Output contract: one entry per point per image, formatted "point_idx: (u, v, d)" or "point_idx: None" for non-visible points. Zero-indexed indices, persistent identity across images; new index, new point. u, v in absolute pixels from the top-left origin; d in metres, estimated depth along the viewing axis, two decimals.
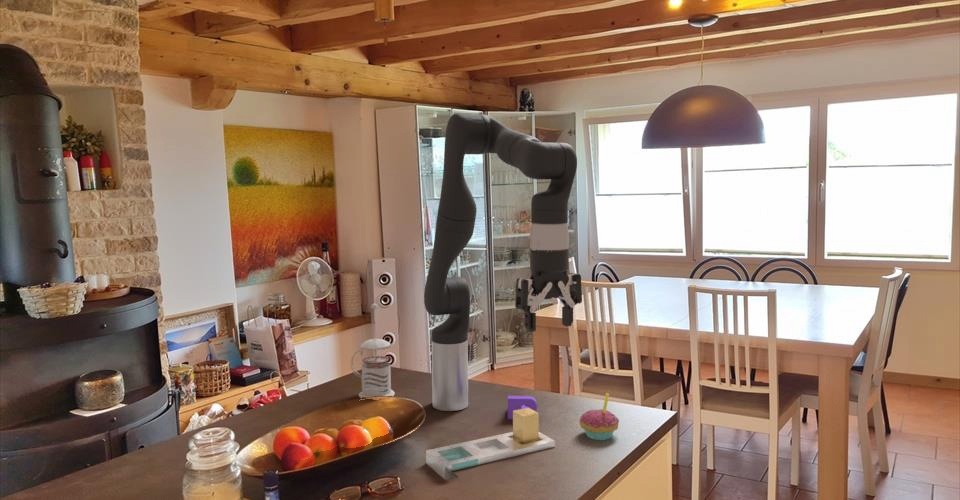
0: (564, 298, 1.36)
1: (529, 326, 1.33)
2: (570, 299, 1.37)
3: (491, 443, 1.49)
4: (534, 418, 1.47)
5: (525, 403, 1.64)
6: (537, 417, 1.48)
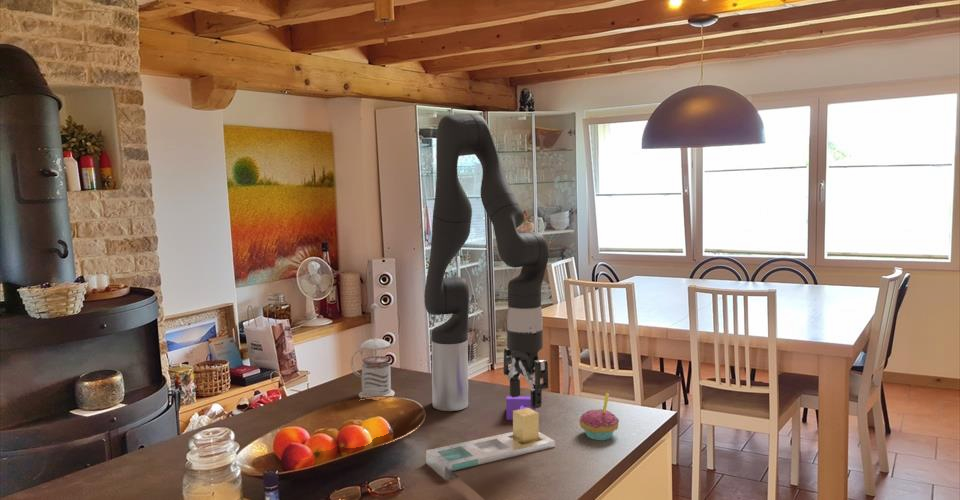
0: None
1: None
2: None
3: (491, 443, 1.49)
4: (534, 418, 1.47)
5: (524, 403, 1.63)
6: (537, 417, 1.48)
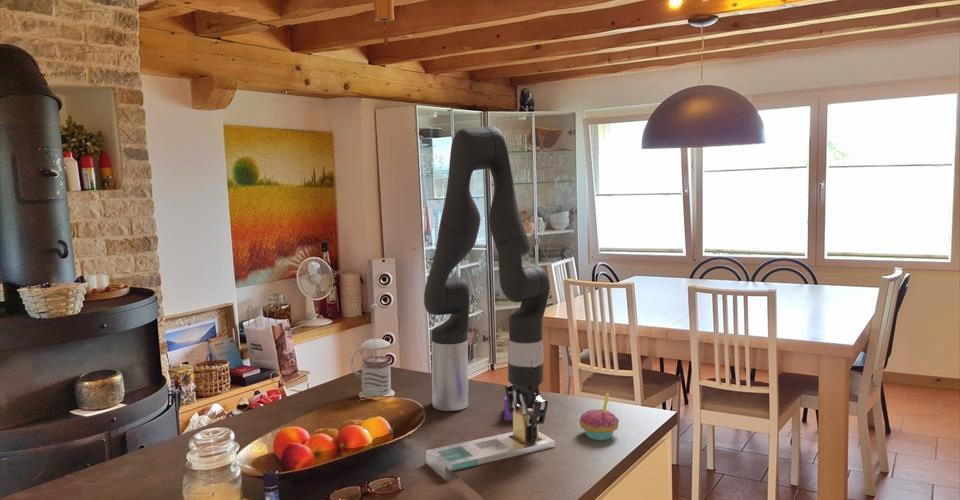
0: None
1: None
2: None
3: (491, 443, 1.49)
4: None
5: None
6: None
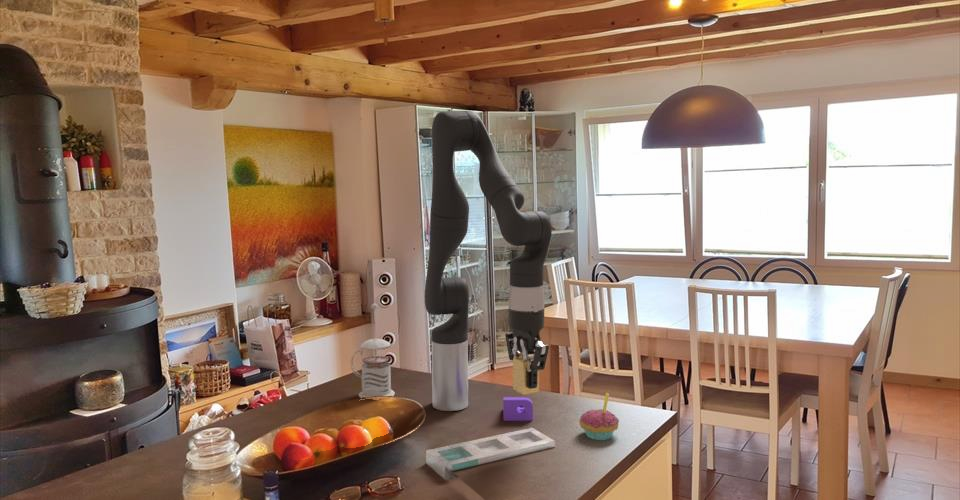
0: None
1: None
2: None
3: (491, 443, 1.49)
4: None
5: (521, 404, 1.63)
6: None
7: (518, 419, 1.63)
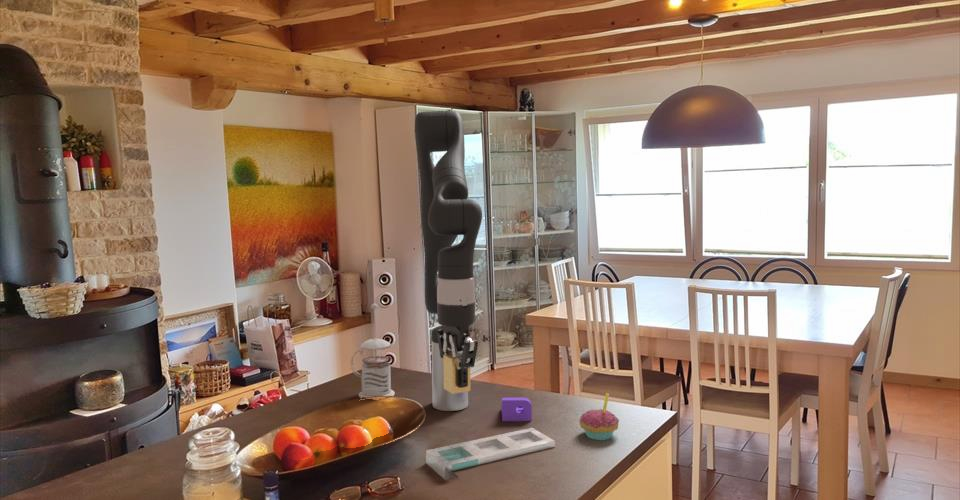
0: None
1: None
2: None
3: (491, 443, 1.49)
4: None
5: (520, 404, 1.63)
6: None
7: (517, 420, 1.63)
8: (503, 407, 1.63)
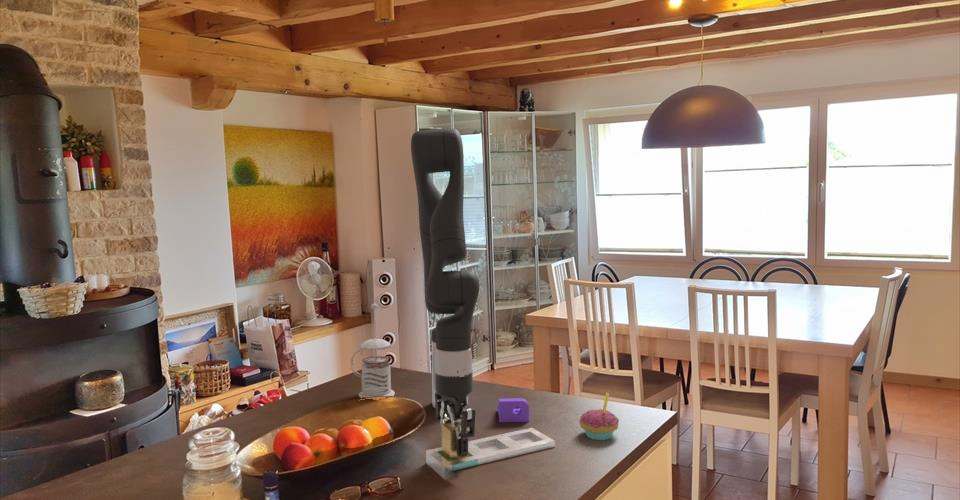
0: None
1: None
2: None
3: (491, 443, 1.49)
4: None
5: (517, 405, 1.62)
6: None
7: (514, 421, 1.62)
8: (500, 408, 1.62)
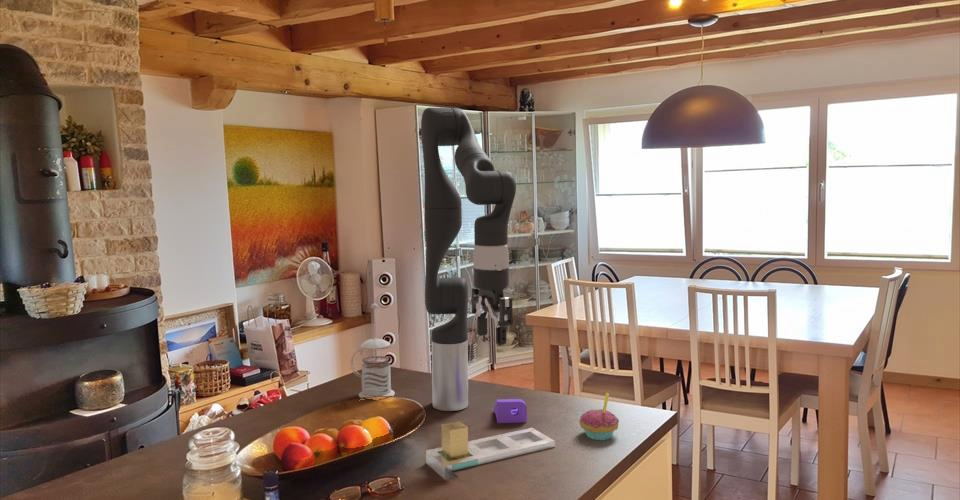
0: None
1: None
2: None
3: (491, 443, 1.49)
4: (463, 432, 1.39)
5: (515, 406, 1.62)
6: (466, 431, 1.40)
7: (512, 422, 1.62)
8: (498, 409, 1.61)
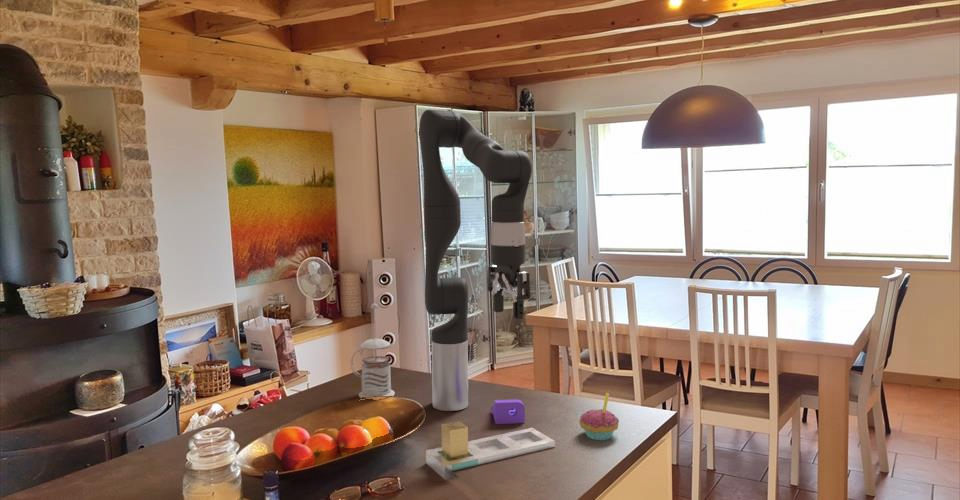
0: None
1: None
2: None
3: (491, 443, 1.49)
4: (463, 432, 1.39)
5: (513, 407, 1.61)
6: (466, 431, 1.40)
7: (510, 422, 1.62)
8: (496, 410, 1.61)
